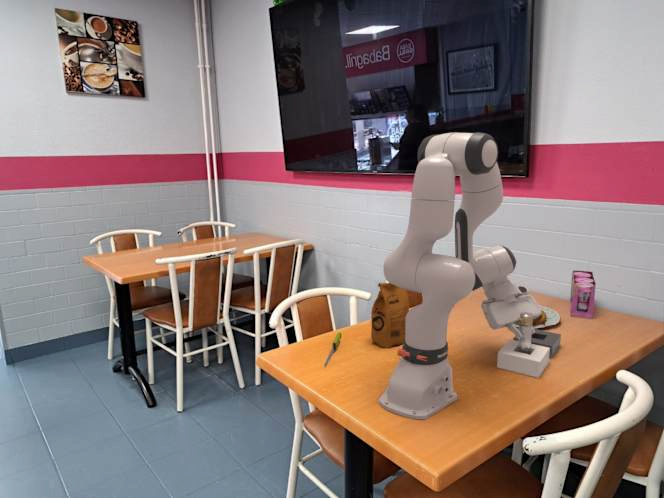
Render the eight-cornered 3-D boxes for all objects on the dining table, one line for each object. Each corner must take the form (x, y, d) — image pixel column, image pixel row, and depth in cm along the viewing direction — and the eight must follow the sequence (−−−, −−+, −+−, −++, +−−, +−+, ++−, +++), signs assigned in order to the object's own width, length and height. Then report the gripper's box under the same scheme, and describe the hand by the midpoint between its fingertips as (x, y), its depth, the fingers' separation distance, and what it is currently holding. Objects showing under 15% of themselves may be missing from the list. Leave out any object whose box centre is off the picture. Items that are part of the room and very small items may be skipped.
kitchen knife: (326, 372, 144) (326, 364, 143) (322, 372, 144) (322, 363, 143) (341, 339, 165) (341, 331, 164) (338, 339, 165) (338, 331, 164)
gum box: (593, 320, 180) (596, 286, 177) (570, 317, 183) (573, 284, 180) (590, 302, 201) (593, 271, 198) (569, 299, 204) (572, 269, 201)
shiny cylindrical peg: (527, 364, 141) (531, 317, 138) (515, 361, 143) (518, 314, 140) (531, 359, 144) (534, 313, 141) (518, 357, 146) (521, 311, 143)
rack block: (538, 378, 136) (539, 362, 135) (497, 367, 143) (497, 352, 142) (548, 362, 145) (549, 347, 144) (509, 353, 152) (509, 339, 151)
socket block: (551, 358, 148) (552, 346, 147) (512, 349, 155) (513, 338, 154) (560, 345, 157) (561, 334, 157) (522, 337, 165) (523, 326, 164)
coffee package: (367, 341, 164) (366, 280, 160) (393, 332, 171) (394, 274, 167) (385, 350, 156) (385, 287, 152) (412, 341, 163) (413, 280, 159)
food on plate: (574, 324, 177) (575, 307, 175) (527, 337, 166) (528, 319, 165) (520, 305, 199) (521, 290, 198) (476, 315, 188) (476, 299, 187)
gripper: (484, 296, 140) (509, 338, 134) (530, 286, 150) (555, 324, 144) (473, 306, 145) (496, 347, 139) (518, 296, 155) (541, 333, 148)
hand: (526, 335), depth 141 cm, fingers closed on shiny cylindrical peg, 3 cm apart
